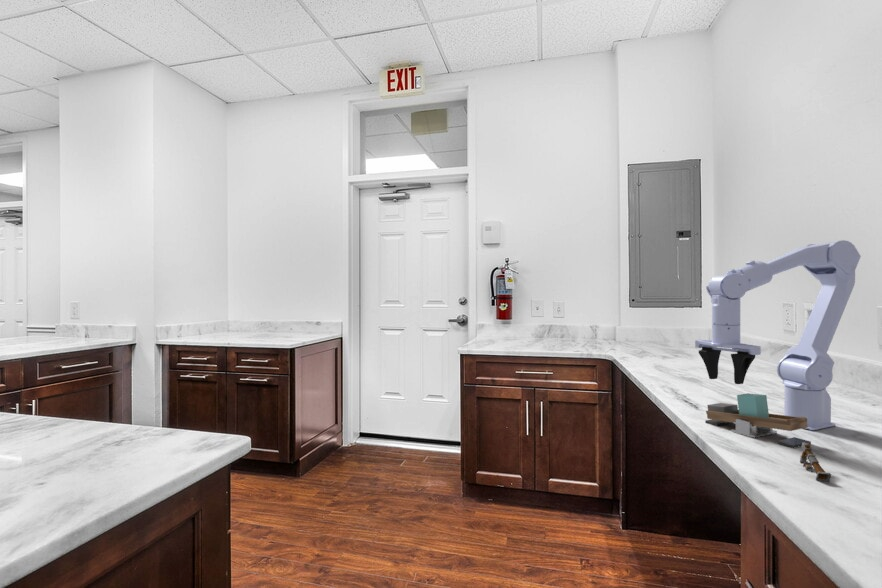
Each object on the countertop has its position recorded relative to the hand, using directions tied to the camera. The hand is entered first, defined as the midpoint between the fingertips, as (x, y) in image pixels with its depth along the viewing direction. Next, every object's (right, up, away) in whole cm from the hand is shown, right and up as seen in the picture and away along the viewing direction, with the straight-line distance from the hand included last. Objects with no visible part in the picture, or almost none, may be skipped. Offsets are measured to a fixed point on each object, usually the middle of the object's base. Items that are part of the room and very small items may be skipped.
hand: (725, 381), depth 106 cm
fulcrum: (+3, -10, -6) cm, 12 cm away
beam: (+3, -8, -6) cm, 11 cm away
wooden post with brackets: (-3, -11, -28) cm, 30 cm away
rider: (+3, -7, -6) cm, 10 cm away
